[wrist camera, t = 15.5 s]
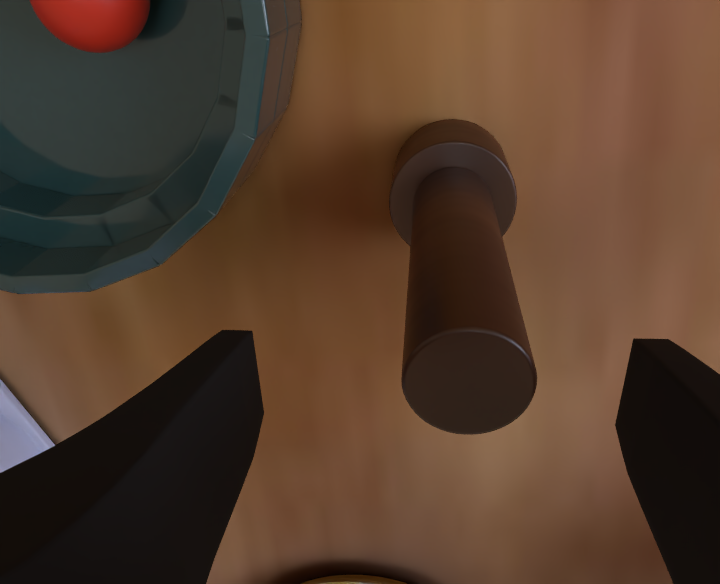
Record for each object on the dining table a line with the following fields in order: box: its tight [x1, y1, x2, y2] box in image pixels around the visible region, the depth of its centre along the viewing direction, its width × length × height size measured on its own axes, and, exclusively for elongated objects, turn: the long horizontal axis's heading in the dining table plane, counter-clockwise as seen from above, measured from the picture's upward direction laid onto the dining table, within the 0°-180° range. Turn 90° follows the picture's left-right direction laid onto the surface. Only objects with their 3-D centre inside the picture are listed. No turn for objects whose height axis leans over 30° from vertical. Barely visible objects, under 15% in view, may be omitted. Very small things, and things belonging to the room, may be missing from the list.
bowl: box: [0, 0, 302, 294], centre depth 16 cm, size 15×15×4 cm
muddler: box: [389, 119, 537, 434], centre depth 15 cm, size 4×4×11 cm
